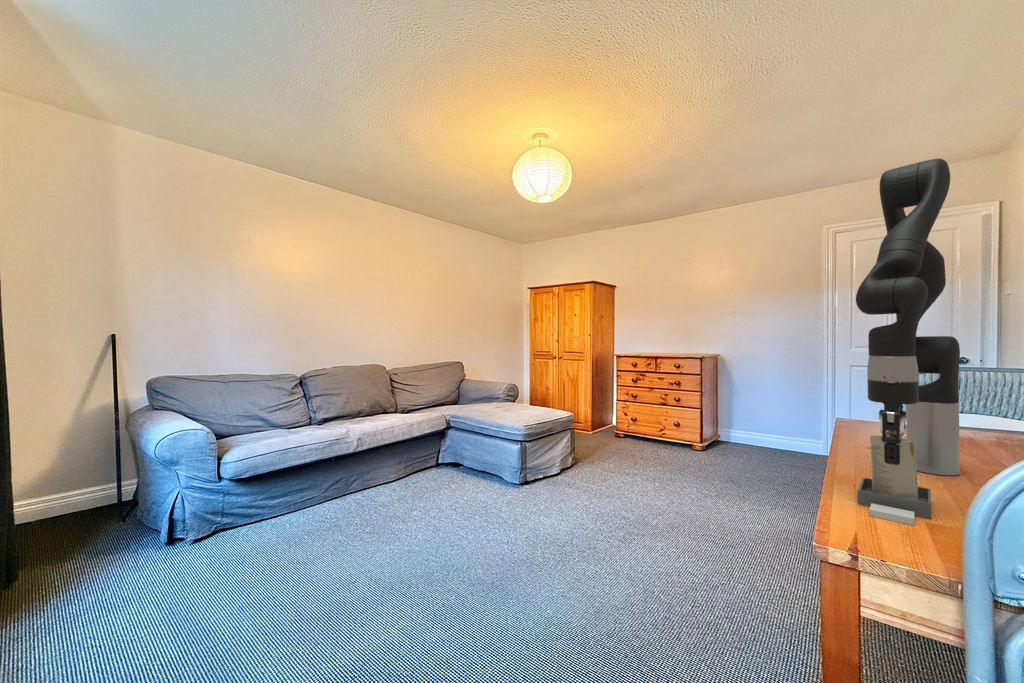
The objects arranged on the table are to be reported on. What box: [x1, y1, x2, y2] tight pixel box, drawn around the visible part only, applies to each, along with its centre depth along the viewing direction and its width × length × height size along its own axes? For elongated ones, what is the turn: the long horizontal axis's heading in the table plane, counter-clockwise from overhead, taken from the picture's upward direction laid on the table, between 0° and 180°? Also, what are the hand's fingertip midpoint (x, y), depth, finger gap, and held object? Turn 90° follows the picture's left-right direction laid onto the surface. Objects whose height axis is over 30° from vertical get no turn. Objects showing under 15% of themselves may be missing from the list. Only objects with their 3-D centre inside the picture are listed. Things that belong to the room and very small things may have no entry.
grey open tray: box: [857, 477, 932, 526], centre depth 81 cm, size 16×10×3 cm, turn 135°
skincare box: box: [869, 435, 919, 501], centre depth 83 cm, size 6×4×12 cm
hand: (893, 458), depth 83 cm, fingers open, 8 cm apart
